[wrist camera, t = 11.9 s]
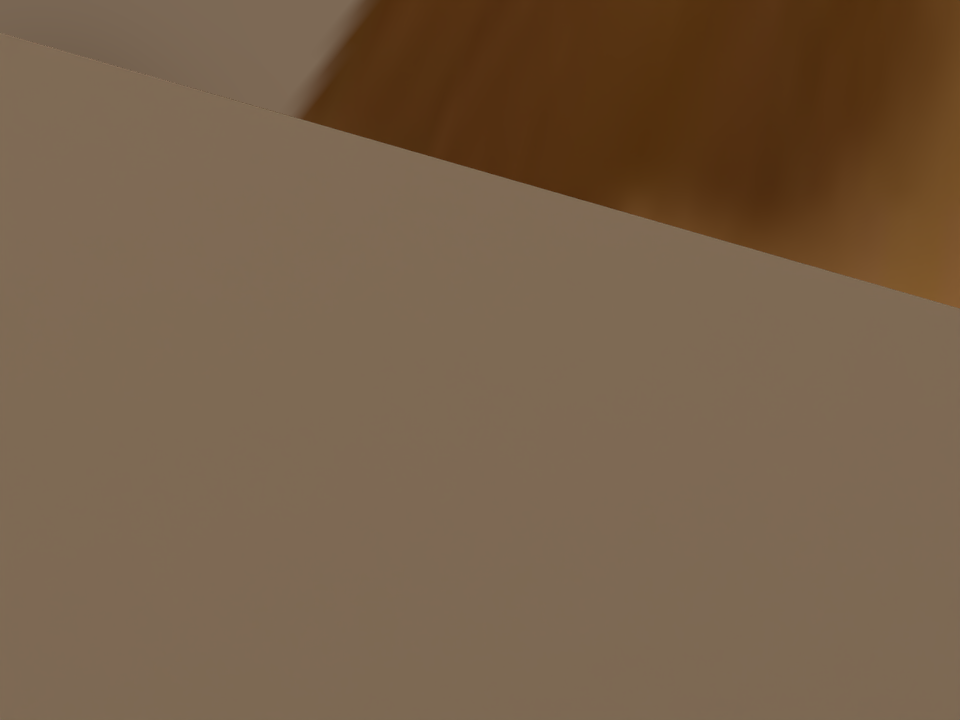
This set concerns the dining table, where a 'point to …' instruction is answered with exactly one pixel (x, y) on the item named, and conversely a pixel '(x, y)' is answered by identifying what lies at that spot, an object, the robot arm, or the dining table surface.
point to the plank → (439, 439)
